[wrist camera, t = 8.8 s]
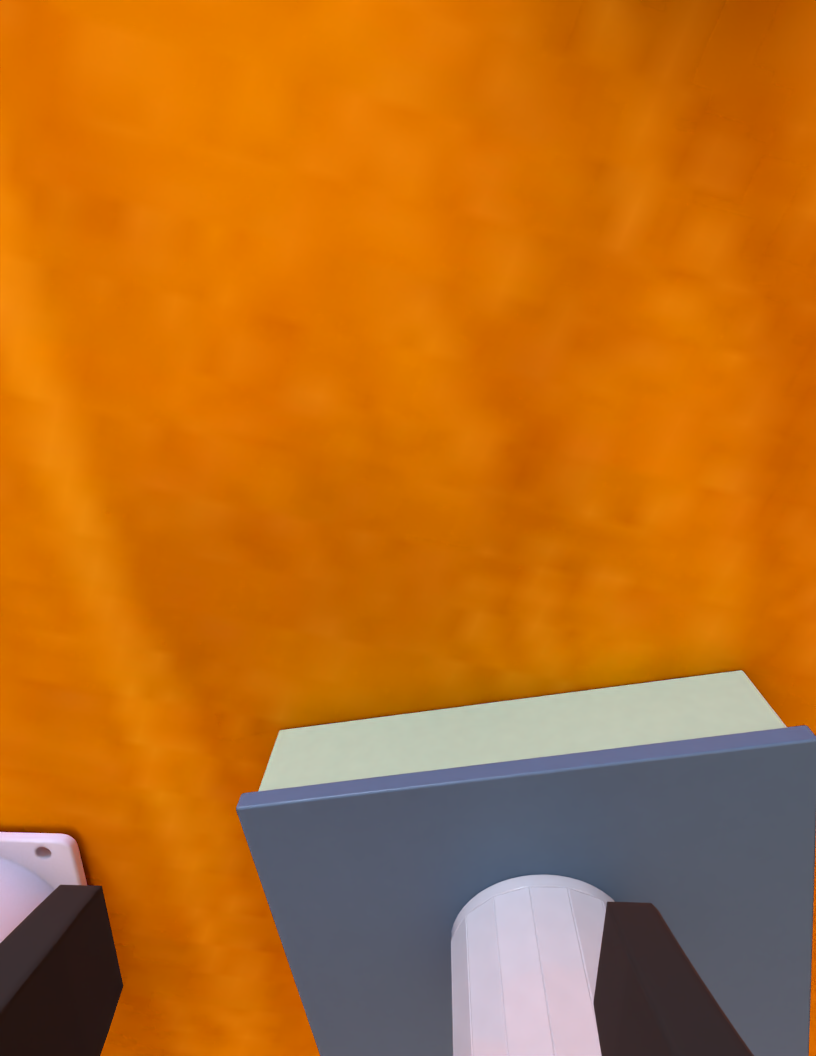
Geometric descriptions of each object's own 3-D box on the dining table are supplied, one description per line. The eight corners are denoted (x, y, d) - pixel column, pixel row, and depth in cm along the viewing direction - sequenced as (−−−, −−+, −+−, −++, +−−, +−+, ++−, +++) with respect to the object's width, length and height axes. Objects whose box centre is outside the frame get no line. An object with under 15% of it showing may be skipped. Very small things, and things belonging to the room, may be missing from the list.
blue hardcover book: (346, 982, 25) (332, 1093, 21) (267, 722, 21) (234, 808, 17) (755, 945, 23) (809, 1058, 20) (753, 658, 19) (820, 739, 16)
